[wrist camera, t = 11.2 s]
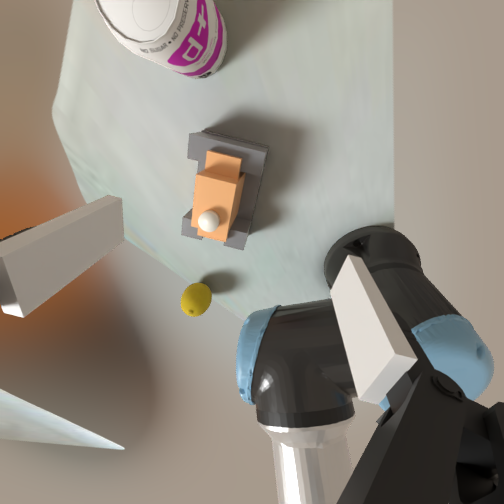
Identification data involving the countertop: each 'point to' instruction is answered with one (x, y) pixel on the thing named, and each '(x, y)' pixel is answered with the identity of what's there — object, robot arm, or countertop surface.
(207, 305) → the lemon
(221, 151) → the grey stand
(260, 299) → the countertop surface
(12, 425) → the countertop surface
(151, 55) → the supplement can
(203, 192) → the block
